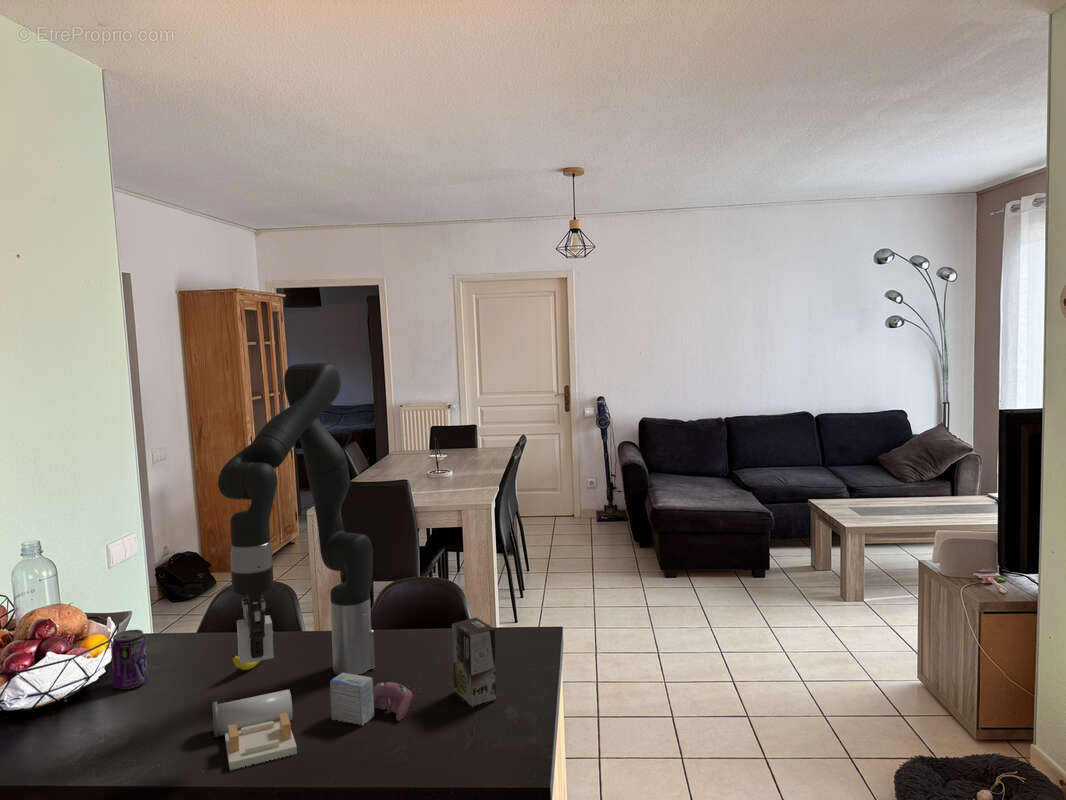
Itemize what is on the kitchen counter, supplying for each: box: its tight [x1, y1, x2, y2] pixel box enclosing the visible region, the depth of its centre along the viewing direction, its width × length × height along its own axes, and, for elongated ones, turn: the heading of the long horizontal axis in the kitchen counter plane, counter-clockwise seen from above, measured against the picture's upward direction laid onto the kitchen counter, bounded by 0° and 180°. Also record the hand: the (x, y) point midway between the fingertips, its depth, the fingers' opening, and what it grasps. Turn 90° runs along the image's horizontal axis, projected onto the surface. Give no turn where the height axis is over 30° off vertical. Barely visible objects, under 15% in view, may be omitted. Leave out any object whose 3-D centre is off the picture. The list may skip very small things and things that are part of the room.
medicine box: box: [329, 673, 375, 727], centre depth 156 cm, size 8×4×9 cm, turn 68°
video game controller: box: [373, 681, 414, 722], centre depth 159 cm, size 10×5×7 cm, turn 65°
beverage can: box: [110, 629, 149, 690], centre depth 174 cm, size 7×7×12 cm
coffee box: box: [451, 617, 497, 707], centre depth 165 cm, size 9×6×16 cm
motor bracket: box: [212, 689, 298, 771], centre depth 148 cm, size 15×18×7 cm
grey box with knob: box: [236, 614, 274, 664], centre depth 144 cm, size 6×4×9 cm
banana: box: [231, 654, 261, 671], centre depth 184 cm, size 3×19×6 cm, turn 172°
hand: (255, 651), depth 145 cm, fingers closed on grey box with knob, 4 cm apart
